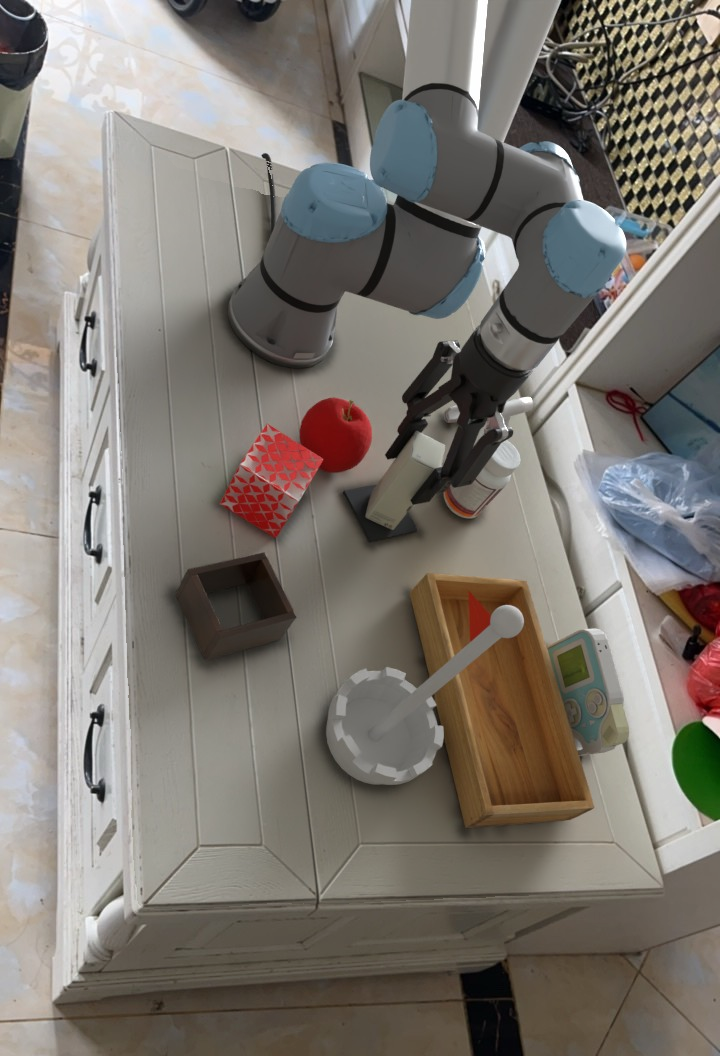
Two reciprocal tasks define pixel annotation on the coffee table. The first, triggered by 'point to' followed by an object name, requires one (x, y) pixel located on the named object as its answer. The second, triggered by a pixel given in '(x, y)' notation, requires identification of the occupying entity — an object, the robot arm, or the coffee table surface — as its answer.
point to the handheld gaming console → (590, 690)
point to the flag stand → (403, 708)
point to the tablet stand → (509, 410)
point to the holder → (228, 575)
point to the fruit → (336, 434)
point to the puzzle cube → (271, 480)
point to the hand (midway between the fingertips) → (407, 477)
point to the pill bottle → (484, 483)
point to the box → (404, 480)
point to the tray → (500, 708)
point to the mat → (373, 530)
